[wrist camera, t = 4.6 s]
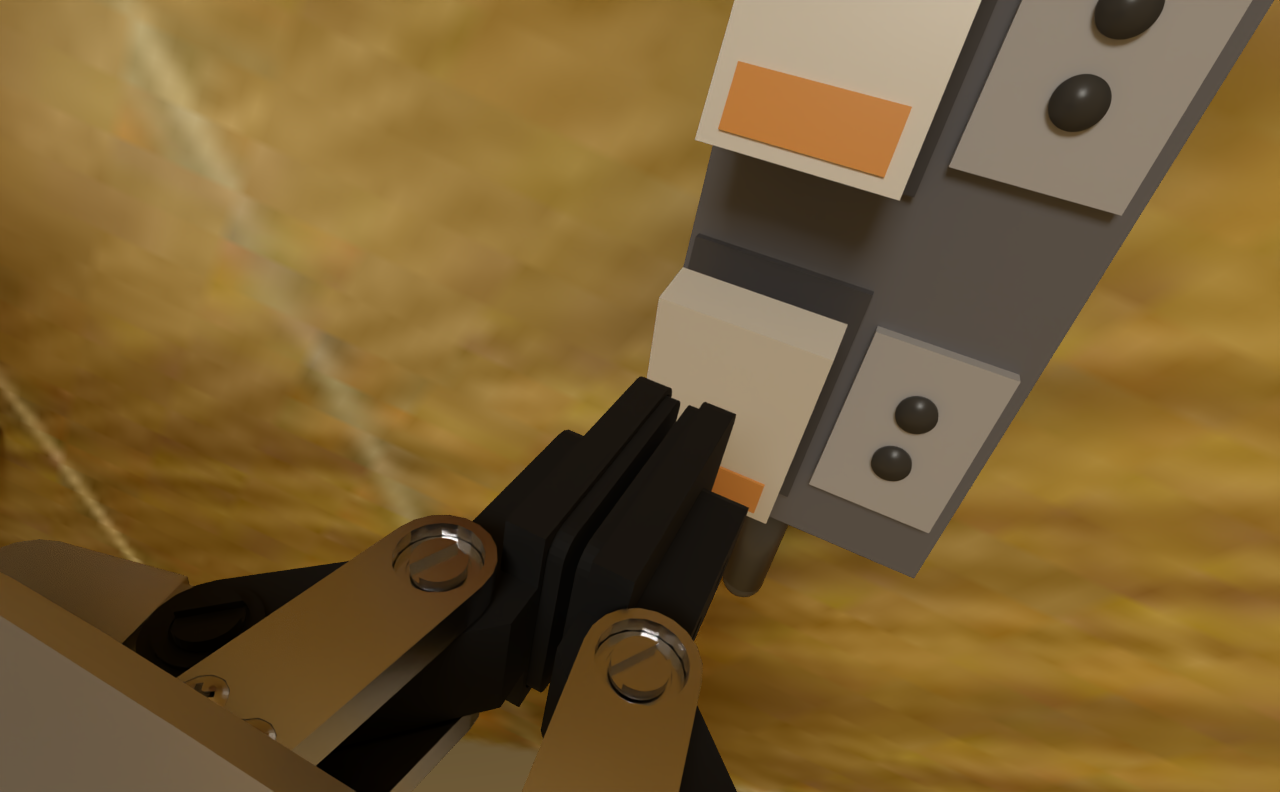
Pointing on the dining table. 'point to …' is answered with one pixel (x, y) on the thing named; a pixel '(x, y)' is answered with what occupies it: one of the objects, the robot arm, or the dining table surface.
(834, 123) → the rocker
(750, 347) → the block
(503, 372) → the dining table surface
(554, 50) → the dining table surface
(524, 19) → the dining table surface
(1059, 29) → the power strip
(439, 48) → the dining table surface
